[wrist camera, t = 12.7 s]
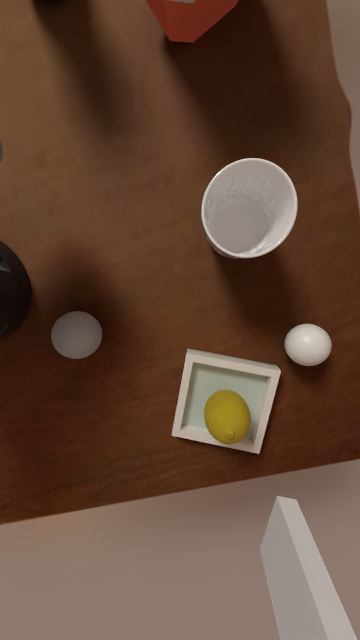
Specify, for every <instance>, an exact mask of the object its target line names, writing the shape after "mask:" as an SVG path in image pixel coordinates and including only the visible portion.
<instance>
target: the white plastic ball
mask: <svg viewBox="0 0 360 640" xmlns="http://www.w3.org/2000/svg"><path fill="white" fill-rule="evenodd" d="M285 350H286V352H287V354H288V356H289V357H290V358H291V359H292V360H293V361H295V362H296V363H298V364H301V365H304V366H314V365H318V364H320V363H322V362H323V361H325V360H326V359H327V357H328V356H329V354H330V352H331V340H330V337H329V335H328V334H327V333H326V332H325V331H324V330H323V329H322V328H320V327H318V326H316V325H312V324H302V325H298V326H296V327H294V328H293V329H291V330H290V331H289V333H288V334H287V336H286V338H285Z"/></svg>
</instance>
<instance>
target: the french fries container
mask: <svg viewBox="0 0 360 640" xmlns="http://www.w3.org/2000/svg"><path fill="white" fill-rule="evenodd" d="M238 1H239V0H147V3H148V5H149V6H150V8H151V10H152V11H153V13H154V15H155V17H156V18H157V20H158V22H159V23H160V25H161V27H162V28H163V30H164V32H165V33H166V35H167V37H168V39H169V40H170V41H179V42H188V43H193V42H194V41H196V40H197V39H198V38H199V37H200V36H201V35H203V34H204V33H205V32H206V31H207V30H208V29H210V28H211V27H212V26H213V25H214V24H215V23H216V22H218V21H219V20H220V19H221V18H222V17H223V16H225V15H226V14H227V13H228V12H229V11H230V10H232V9H233V8H234V7H235V6H236V4H237V3H238Z"/></svg>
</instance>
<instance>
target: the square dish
mask: <svg viewBox="0 0 360 640" xmlns="http://www.w3.org/2000/svg"><path fill="white" fill-rule="evenodd" d="M280 373H281V370H280V369H279V368H278V367H277V365H272V364H267V363H262V362H256V361H251V360H246V359H240V358H235V357H230V356H225V355H219V354H214V353H209V352H203V351H198V350H193V349H187V354H186V360H185V365H184V371H183V376H182V382H181V387H180V392H179V398H178V403H177V409H176V414H175V420H174V425H173V431H172V436H176V437H181V438H185V439H190V440H195V441H200V442H205V443H209V444H214V445H219V446H224V447H229V448H233V449H238V450H243V451H248V452H253V453H257V454H259V453H260V449H261V445H262V441H263V438H264V434H265V430H266V426H267V422H268V419H269V415H270V411H271V407H272V403H273V400H274V396H275V392H276V388H277V384H278V381H279V377H280ZM219 390H231V391H234V392H236V393H238V394H239V395H240V396H241V397H242V398H243V399H244V400H245V402H246V403H247V405H248V408H249V411H250V416H251V424H250V428H249V431H248V433H247V435H246V437H245V438H244V439H243V440H241V441H240V442H238V443H235V444H224V443H221V442H219V441H217V440H216V439H214V438H213V436H212V435H211V434H210V433H209V431H208V429H207V427H206V424H205V420H204V408H205V405H206V402H207V400H208V399H209V397H210V396H211V395H212V394H213V393H215V392H217V391H219Z"/></svg>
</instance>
